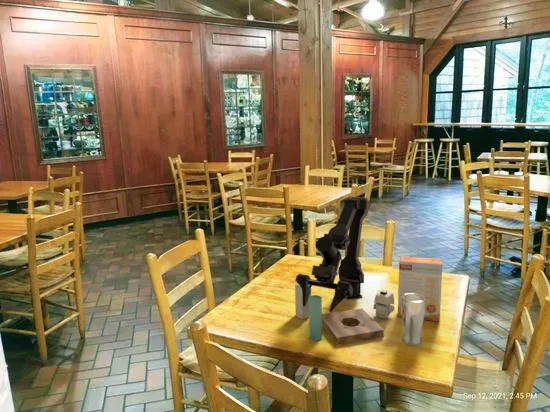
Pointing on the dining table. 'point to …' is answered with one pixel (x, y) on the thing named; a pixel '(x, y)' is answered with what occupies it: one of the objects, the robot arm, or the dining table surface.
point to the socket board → (346, 334)
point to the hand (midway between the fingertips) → (316, 309)
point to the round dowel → (315, 317)
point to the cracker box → (421, 283)
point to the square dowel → (301, 303)
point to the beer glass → (412, 318)
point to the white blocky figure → (384, 303)
